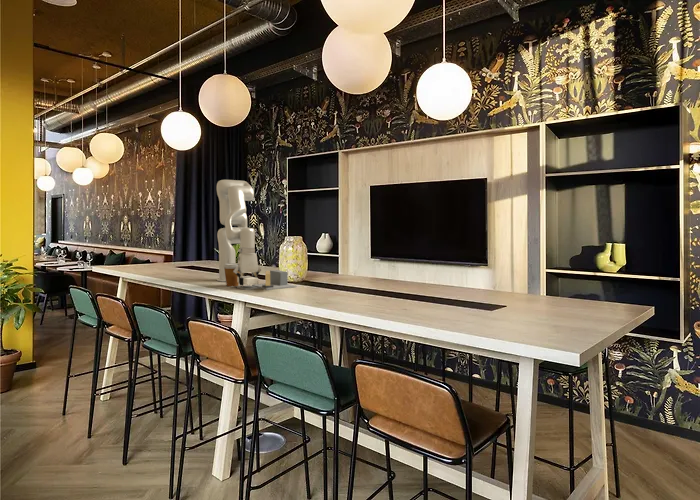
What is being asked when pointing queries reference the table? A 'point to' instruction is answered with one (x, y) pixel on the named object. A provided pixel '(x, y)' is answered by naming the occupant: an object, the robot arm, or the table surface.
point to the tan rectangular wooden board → (267, 278)
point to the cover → (248, 280)
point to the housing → (276, 281)
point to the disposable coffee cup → (231, 274)
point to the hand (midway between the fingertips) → (247, 284)
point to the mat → (247, 287)
